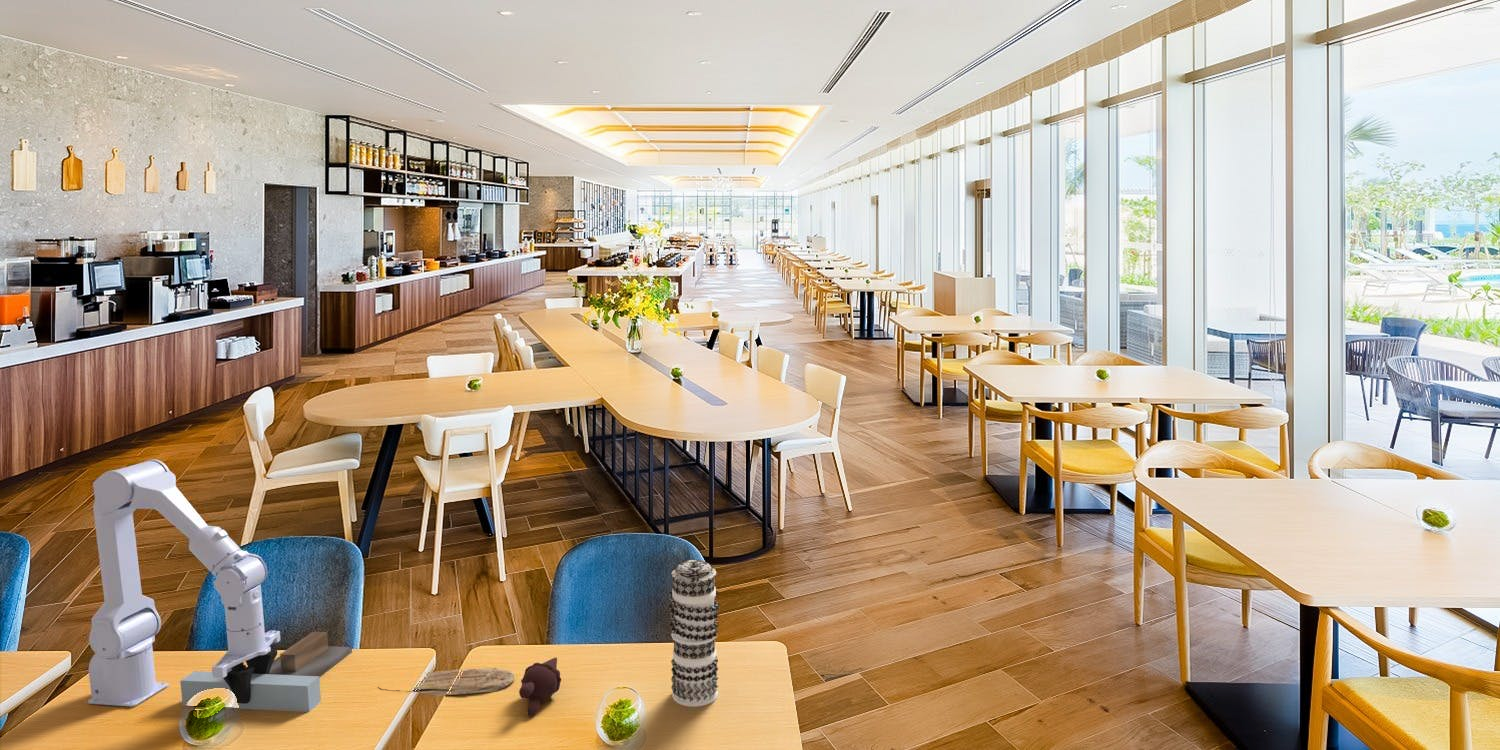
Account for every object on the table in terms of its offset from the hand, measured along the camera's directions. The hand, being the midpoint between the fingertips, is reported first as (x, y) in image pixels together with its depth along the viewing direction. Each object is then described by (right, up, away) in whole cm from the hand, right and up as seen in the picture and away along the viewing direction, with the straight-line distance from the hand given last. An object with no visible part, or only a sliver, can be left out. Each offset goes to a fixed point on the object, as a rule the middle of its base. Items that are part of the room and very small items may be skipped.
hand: (251, 696), depth 150 cm
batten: (0, -2, 0) cm, 2 cm away
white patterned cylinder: (+80, -1, +3) cm, 80 cm away
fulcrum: (+2, +1, +15) cm, 15 cm away
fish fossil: (+32, -1, +8) cm, 33 cm away
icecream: (+52, -1, +2) cm, 52 cm away
